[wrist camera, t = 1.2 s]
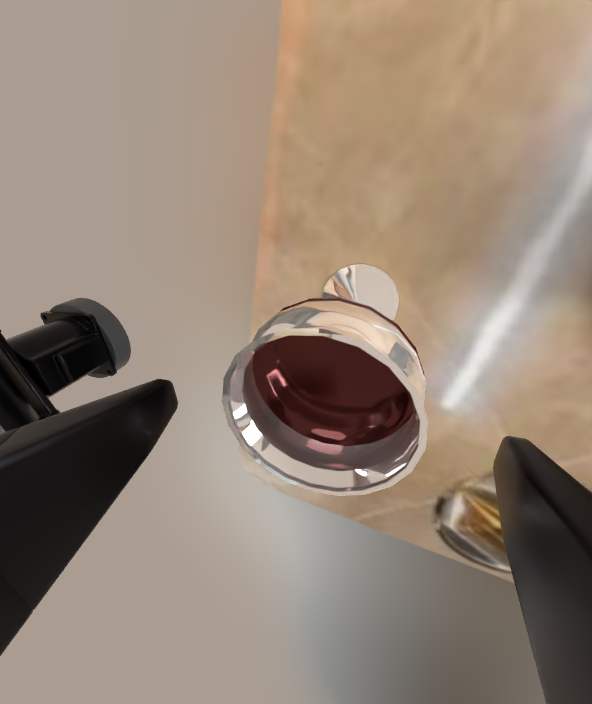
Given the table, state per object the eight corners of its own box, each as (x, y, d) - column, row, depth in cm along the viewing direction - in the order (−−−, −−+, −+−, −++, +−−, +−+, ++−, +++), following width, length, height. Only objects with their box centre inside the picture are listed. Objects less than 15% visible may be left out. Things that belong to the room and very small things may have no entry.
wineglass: (295, 323, 22) (205, 441, 12) (332, 230, 18) (247, 284, 8) (381, 364, 21) (365, 523, 11) (437, 276, 18) (486, 396, 8)
